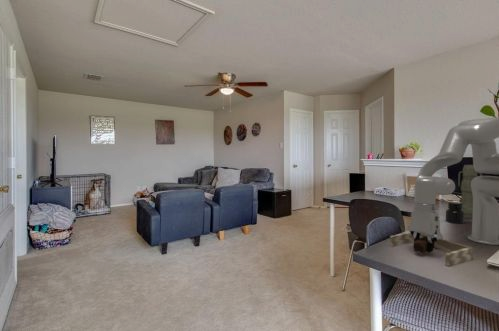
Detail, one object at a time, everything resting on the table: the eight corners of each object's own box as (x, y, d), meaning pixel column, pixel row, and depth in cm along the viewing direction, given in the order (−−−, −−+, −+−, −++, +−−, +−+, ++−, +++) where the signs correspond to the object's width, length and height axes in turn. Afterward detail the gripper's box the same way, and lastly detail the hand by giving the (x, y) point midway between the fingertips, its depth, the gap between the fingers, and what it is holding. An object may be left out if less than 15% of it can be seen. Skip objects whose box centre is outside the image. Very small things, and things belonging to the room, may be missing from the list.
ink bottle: (459, 220, 163) (459, 201, 163) (468, 224, 155) (468, 204, 154) (441, 219, 165) (442, 201, 165) (450, 223, 156) (450, 203, 156)
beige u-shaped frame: (413, 240, 127) (413, 231, 126) (473, 258, 105) (473, 247, 104) (389, 245, 120) (390, 236, 120) (448, 266, 98) (448, 254, 97)
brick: (424, 246, 115) (424, 235, 115) (434, 248, 112) (434, 238, 112) (412, 251, 109) (413, 240, 109) (423, 254, 106) (423, 243, 106)
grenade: (482, 219, 165) (484, 164, 163) (458, 217, 171) (460, 164, 169) (478, 216, 172) (480, 164, 171) (456, 214, 179) (457, 164, 177)
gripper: (452, 210, 104) (450, 254, 104) (410, 202, 119) (410, 241, 120) (441, 212, 100) (439, 258, 101) (400, 204, 116) (399, 244, 117)
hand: (423, 248), depth 111 cm, fingers closed on brick, 4 cm apart
